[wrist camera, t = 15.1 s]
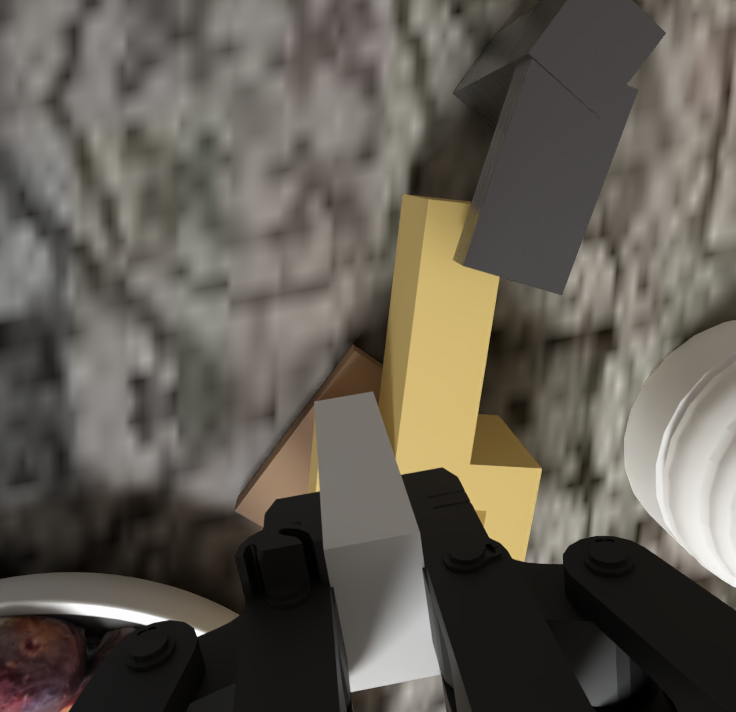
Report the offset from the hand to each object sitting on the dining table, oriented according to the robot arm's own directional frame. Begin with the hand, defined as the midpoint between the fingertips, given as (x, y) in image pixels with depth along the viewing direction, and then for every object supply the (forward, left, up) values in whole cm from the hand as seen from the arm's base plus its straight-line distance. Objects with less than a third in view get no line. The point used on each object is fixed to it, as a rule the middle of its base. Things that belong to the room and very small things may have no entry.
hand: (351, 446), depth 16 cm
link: (+1, +5, -14) cm, 15 cm away
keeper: (-10, +1, -15) cm, 18 cm away
